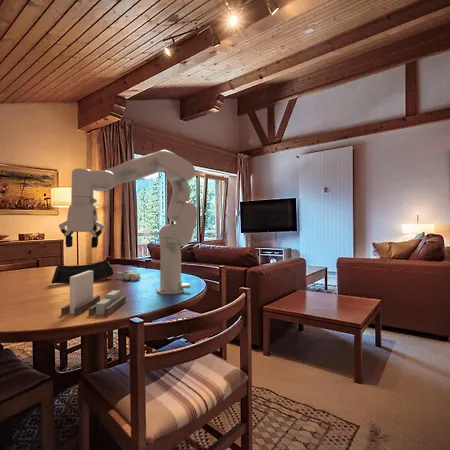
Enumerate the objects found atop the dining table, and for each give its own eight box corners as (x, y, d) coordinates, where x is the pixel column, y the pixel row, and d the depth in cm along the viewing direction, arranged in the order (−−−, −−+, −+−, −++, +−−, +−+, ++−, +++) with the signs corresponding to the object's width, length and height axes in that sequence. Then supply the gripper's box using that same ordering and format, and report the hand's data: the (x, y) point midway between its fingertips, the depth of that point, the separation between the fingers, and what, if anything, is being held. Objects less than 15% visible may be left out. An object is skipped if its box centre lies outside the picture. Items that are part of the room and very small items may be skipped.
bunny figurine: (130, 275, 160) (114, 268, 169) (129, 284, 160) (113, 277, 169) (145, 273, 167) (129, 267, 176) (144, 281, 168) (128, 275, 177)
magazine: (47, 268, 148) (106, 248, 166) (45, 267, 150) (104, 247, 169) (58, 300, 151) (114, 276, 170) (56, 298, 153) (112, 275, 172)
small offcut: (111, 309, 111) (111, 299, 111) (104, 315, 105) (104, 303, 105) (102, 309, 111) (103, 299, 111) (95, 314, 105) (96, 303, 105)
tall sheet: (93, 303, 119) (93, 270, 119) (75, 313, 105) (75, 277, 105) (88, 303, 119) (88, 270, 119) (69, 313, 105) (69, 277, 105)
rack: (125, 302, 121) (125, 295, 121) (108, 316, 103) (108, 308, 103) (85, 301, 122) (85, 295, 121) (61, 315, 103) (61, 308, 103)
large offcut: (120, 303, 120) (120, 290, 120) (113, 308, 113) (113, 294, 113) (112, 302, 120) (112, 290, 120) (105, 307, 113) (105, 294, 113)
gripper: (109, 203, 117) (108, 247, 117) (65, 202, 117) (65, 246, 117) (100, 201, 109) (99, 248, 109) (54, 200, 110) (53, 247, 110)
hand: (81, 247), depth 113 cm, fingers open, 9 cm apart
